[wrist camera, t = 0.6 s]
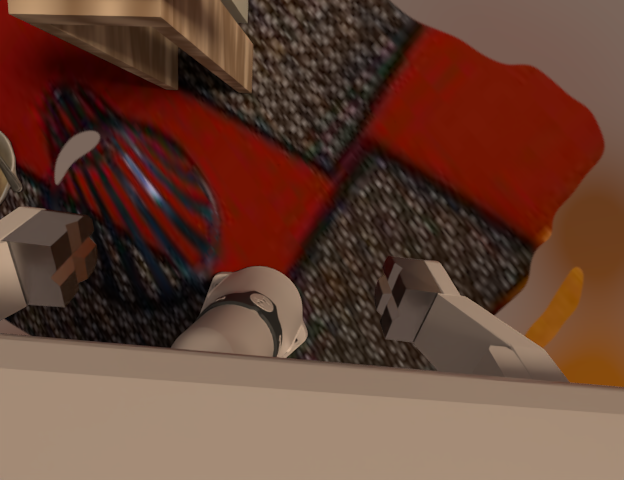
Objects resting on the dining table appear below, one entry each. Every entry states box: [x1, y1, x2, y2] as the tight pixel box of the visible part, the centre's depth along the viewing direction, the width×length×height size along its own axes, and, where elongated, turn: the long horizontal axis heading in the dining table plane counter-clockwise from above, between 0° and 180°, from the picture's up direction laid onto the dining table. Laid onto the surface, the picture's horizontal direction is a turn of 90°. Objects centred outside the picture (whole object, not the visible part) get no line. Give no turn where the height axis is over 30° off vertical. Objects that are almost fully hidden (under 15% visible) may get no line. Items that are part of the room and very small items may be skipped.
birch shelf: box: [8, 0, 253, 93], centre depth 42 cm, size 14×7×26 cm, turn 86°
